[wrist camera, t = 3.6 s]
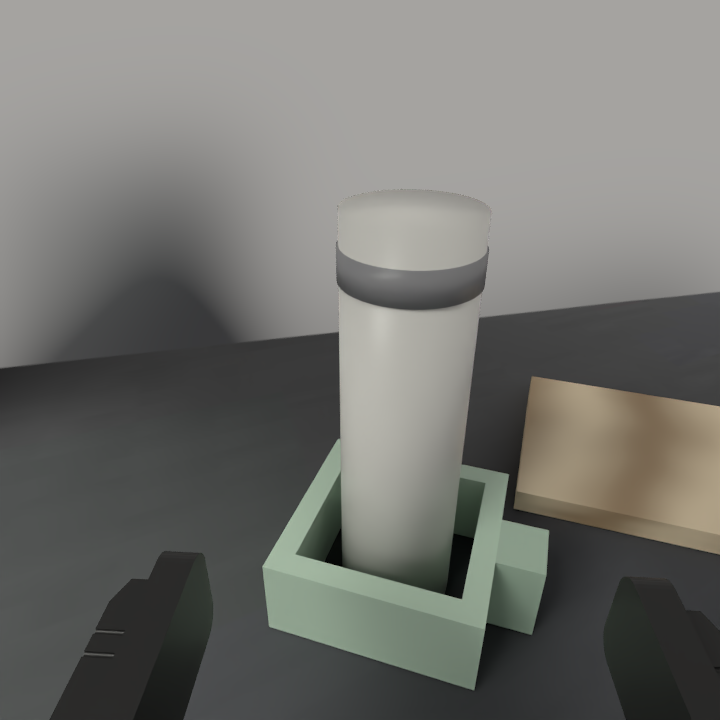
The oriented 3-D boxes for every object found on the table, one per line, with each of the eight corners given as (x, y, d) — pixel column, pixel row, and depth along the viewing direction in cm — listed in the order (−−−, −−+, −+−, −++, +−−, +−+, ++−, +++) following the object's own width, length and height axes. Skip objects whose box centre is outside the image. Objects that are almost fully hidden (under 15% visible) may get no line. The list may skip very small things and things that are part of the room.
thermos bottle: (324, 603, 21) (311, 221, 14) (360, 523, 24) (363, 184, 17) (436, 635, 20) (482, 238, 13) (457, 547, 23) (501, 195, 16)
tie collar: (269, 626, 20) (262, 566, 18) (339, 492, 26) (338, 438, 24) (526, 706, 18) (542, 645, 16) (538, 538, 24) (551, 482, 22)
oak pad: (513, 508, 25) (516, 491, 25) (529, 391, 33) (531, 376, 33) (776, 567, 22) (786, 548, 22) (722, 423, 31) (728, 407, 30)
